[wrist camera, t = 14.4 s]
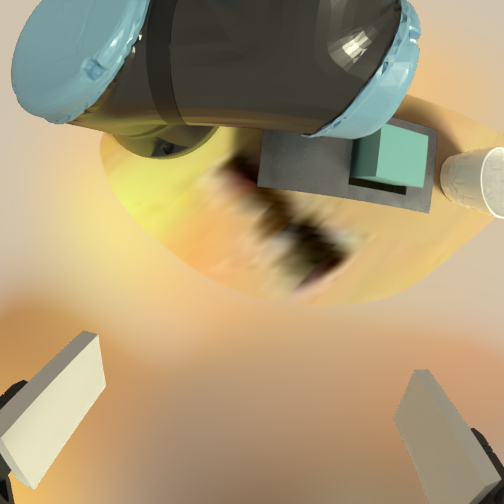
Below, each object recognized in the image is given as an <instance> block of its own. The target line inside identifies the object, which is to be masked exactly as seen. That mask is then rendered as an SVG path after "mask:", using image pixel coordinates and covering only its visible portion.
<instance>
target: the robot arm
mask: <svg viewBox="0 0 504 504" xmlns="http://www.w3.org/2000/svg"><path fill="white" fill-rule="evenodd" d="M420 35H421V29H420V22H419V18H418V15H417V13H416V11H415V9H414V7H413V6H412V5H411V4H410V3H409V2H407V1H406V0H42V1H41V2H40V3H39V5H38V6H37V7H36V8H35V9H34V11H33V12H32V14H31V15H30V17H29V19H28V20H27V22H26V24H25V26H24V28H23V30H22V32H21V34H20V36H19V39H18V42H17V44H16V48H15V51H14V55H13V60H12V68H11V80H12V87H13V90H14V92H15V94H16V96H17V100H18V103H19V104H20V105H21V107H22V108H24V109H25V110H26V111H27V112H29V113H31V114H32V115H35V116H38V117H42V118H44V119H46V120H47V121H48V122H50V123H54V124H64V123H67V124H71V125H76V126H81V127H86V128H90V129H95V130H99V131H103V132H108V133H112V134H113V135H114V137H115V138H116V139H117V141H118V142H119V143H120V144H121V145H122V146H123V147H125V148H126V149H127V150H129V151H131V152H132V153H134V154H137V155H139V156H142V157H147V158H153V159H172V158H177V157H181V156H184V155H186V154H188V153H191V152H193V151H194V150H196V149H198V148H199V147H200V146H202V145H203V144H204V143H206V142H207V141H208V140H209V139H210V138H211V137H212V136H213V134H214V133H215V132H216V131H217V129H218V128H219V126H226V127H243V128H256V129H267V130H278V131H287V132H296V133H299V135H301V136H303V137H308V138H313V137H319V136H327V137H336V138H344V139H357V138H360V137H365V136H367V135H370V134H372V133H374V132H376V131H377V130H379V129H380V128H381V127H382V126H383V125H384V124H385V123H386V122H387V121H388V120H389V119H390V118H391V117H392V116H393V114H394V113H395V112H396V110H397V109H398V107H399V106H400V104H401V102H402V101H403V99H404V97H405V95H406V93H407V91H408V89H409V86H410V84H411V82H412V80H413V77H414V74H415V71H416V67H417V63H418V58H419V51H420V49H419V47H418V46H417V45H416V43H417V40H418V39H419V37H420ZM105 387H106V383H105V377H104V372H103V366H102V359H101V352H100V345H99V337H98V334H94V333H90V332H87V331H82V332H81V333H80V334H79V335H78V336H77V337H76V338H75V339H73V340H72V341H71V342H70V343H69V344H68V345H67V346H66V347H65V348H64V349H63V350H61V352H60V353H58V354H57V355H56V356H55V357H54V358H53V359H52V360H51V361H50V362H49V363H48V364H47V365H46V366H44V367H43V368H42V369H41V370H40V371H39V372H38V373H37V374H36V375H35V376H34V377H33V378H32V379H31V380H30V381H29V382H27V381H25V380H22V381H20V382H18V383H16V384H14V385H12V386H11V387H10V388H9V389H8V390H7V391H6V392H5V393H4V395H3V394H2V395H1V396H0V504H15V503H14V499H13V494H12V488H11V482H10V479H9V477H8V474H9V473H10V471H12V473H13V474H14V475H15V477H16V478H17V480H19V481H20V482H22V483H23V484H25V485H27V486H29V487H30V488H32V489H34V490H35V488H36V487H37V485H38V484H39V482H40V481H41V479H42V478H43V476H44V475H45V473H46V471H47V470H48V468H49V467H50V465H51V464H52V462H53V461H54V460H55V458H56V457H57V455H58V453H59V452H60V450H61V449H62V448H63V446H64V445H65V443H66V442H67V440H68V439H69V437H70V436H71V434H72V433H73V432H74V430H75V429H76V427H77V426H78V424H79V423H80V422H81V420H82V419H83V417H84V416H85V414H86V413H87V411H88V410H89V408H90V407H91V406H92V405H93V403H94V402H95V400H96V399H97V398H98V396H99V394H100V393H101V392H102V391H103V389H104V388H105ZM393 419H394V421H395V423H396V425H397V428H398V430H399V432H400V435H401V437H402V439H403V441H404V443H405V446H406V448H407V450H408V453H409V455H410V458H411V460H412V462H413V465H414V467H415V469H416V472H417V474H418V477H419V479H420V482H421V484H422V486H423V489H424V492H425V494H426V497H427V499H428V502H429V504H504V467H503V465H502V464H501V462H500V461H499V459H498V457H497V456H496V454H495V453H493V450H492V448H491V447H490V446H488V442H487V441H486V439H485V438H484V436H483V435H482V434H481V433H480V432H478V431H477V430H476V429H474V428H471V429H470V428H469V426H468V425H467V424H466V422H465V421H464V419H463V418H462V416H461V415H460V413H459V412H458V410H457V409H456V407H455V406H454V405H453V403H452V402H451V400H450V399H449V398H448V396H447V395H446V393H445V392H444V391H443V389H442V388H441V386H440V385H439V383H438V382H437V381H436V380H435V378H434V377H433V375H432V374H431V372H430V371H429V370H414V371H413V374H412V376H411V379H410V381H409V383H408V386H407V388H406V390H405V393H404V395H403V397H402V399H401V401H400V404H399V406H398V408H397V410H396V412H395V414H394V416H393Z"/></svg>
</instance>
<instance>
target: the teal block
mask: <svg viewBox="0 0 504 504" xmlns="http://www.w3.org/2000/svg"><path fill="white" fill-rule="evenodd" d="M427 149H428V136H426V135H423V134H420V133H416V132H413V131H410V130H406V129H403V128H399V127H396V126H392V125H388V124H384V125H383V126H382V127H381V128H380V129H379V130H377V131H376V132H374V133H372V134H370V135H367V136H365V137H360V138H357V139H353V145H352V155H351V164H350V173H349V177H352V178H357V179H362V180H367V181H372V182H377V183H382V184H387V185H400V186H412V187H422V188H423V185H424V177H425V169H426V159H427Z"/></svg>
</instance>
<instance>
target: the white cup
mask: <svg viewBox="0 0 504 504" xmlns="http://www.w3.org/2000/svg"><path fill="white" fill-rule="evenodd" d="M440 183H441V188H442V190H443V192H444V194H445V196H446V197H447V198H448V199H449V200H451V201H452V202H453V203H457V204H460V205H463V206H465V207H467V208H470V209H473V210H476V211H479V212H483V213H486V214H489V215H492V216H495V217H498V218H504V147H493V148H486V149H479V150H474V151H468V152H463V153H461V154H455V155H453V156H450V157H448V158H447V159H446V160H445V162H444V163H443V164H442V168H441V172H440Z"/></svg>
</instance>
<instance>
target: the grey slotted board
mask: <svg viewBox="0 0 504 504" xmlns="http://www.w3.org/2000/svg"><path fill="white" fill-rule="evenodd" d="M385 124H388V125H392V126H396V127H399V128H403V129H406V130H410V131H413V132H416V133H420V134H423V135H426V136H428V149H427V159H426V169H425V177H424V185H423V188H422V187H412V186H400V185H393V193H392V192H386V191H381V190H376V189H371V188H365V187H360V186H354V185H348V181H349V173H350V164H351V155H352V145H353V139H344V138H336V137H327V136H319V137H313V138H308V137H303V136H301V135H299V133H296V132H287V131H278V130H267V129H264V131H263V139H262V148H261V157H260V166H259V175H258V184H257V186H259V187H267V188H276V189H284V190H292V191H299V192H307V193H314V194H321V195H327V196H334V197H340V198H347V199H353V200H359V201H365V202H371V203H377V204H382V205H388V206H393V207H398V208H404V209H409V210H414V211H419V212H424V213H429V210H430V203H431V196H432V188H433V180H434V170H435V159H436V146H437V130H435V129H431V128H428V127H425V126H422V125H419V124H415V123H412V122H408V121H405V120H401V119H397V118H394V117H391V118H390V119H389V120H388V121H387V122H386V123H385Z"/></svg>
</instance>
